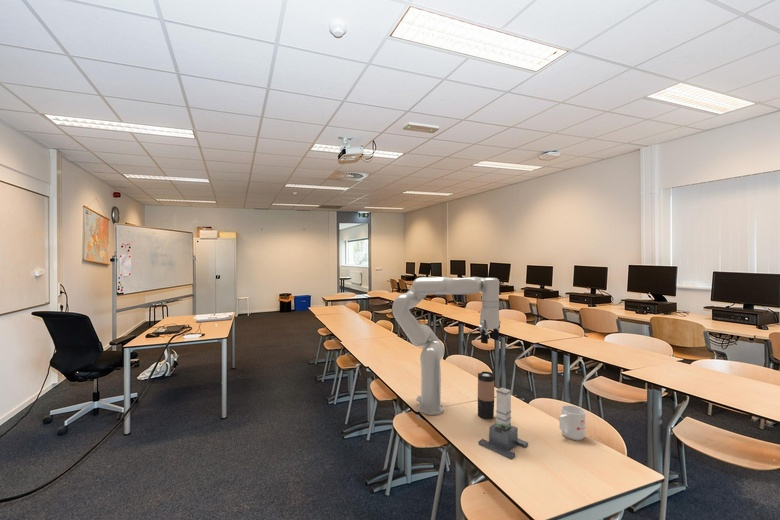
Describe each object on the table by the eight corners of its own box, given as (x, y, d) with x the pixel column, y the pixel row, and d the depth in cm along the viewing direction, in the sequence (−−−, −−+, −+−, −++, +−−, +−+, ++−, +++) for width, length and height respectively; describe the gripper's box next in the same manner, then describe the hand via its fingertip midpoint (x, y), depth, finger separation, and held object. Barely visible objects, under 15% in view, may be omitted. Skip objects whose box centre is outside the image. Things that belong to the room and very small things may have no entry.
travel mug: (495, 420, 156) (495, 377, 156) (477, 419, 158) (478, 376, 158) (493, 413, 164) (493, 372, 164) (477, 411, 165) (477, 370, 165)
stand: (478, 444, 136) (478, 424, 136) (496, 432, 146) (496, 413, 146) (511, 459, 126) (511, 437, 126) (528, 445, 136) (528, 425, 136)
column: (495, 429, 136) (496, 390, 136) (501, 426, 139) (501, 387, 139) (505, 433, 133) (506, 393, 133) (510, 430, 136) (511, 390, 136)
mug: (571, 428, 149) (571, 403, 149) (590, 438, 141) (590, 412, 141) (551, 434, 144) (551, 408, 144) (569, 444, 136) (570, 417, 136)
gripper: (492, 302, 166) (492, 337, 166) (472, 305, 154) (472, 343, 154) (507, 303, 160) (506, 340, 160) (487, 307, 148) (487, 346, 148)
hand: (490, 341), depth 157 cm, fingers open, 9 cm apart
